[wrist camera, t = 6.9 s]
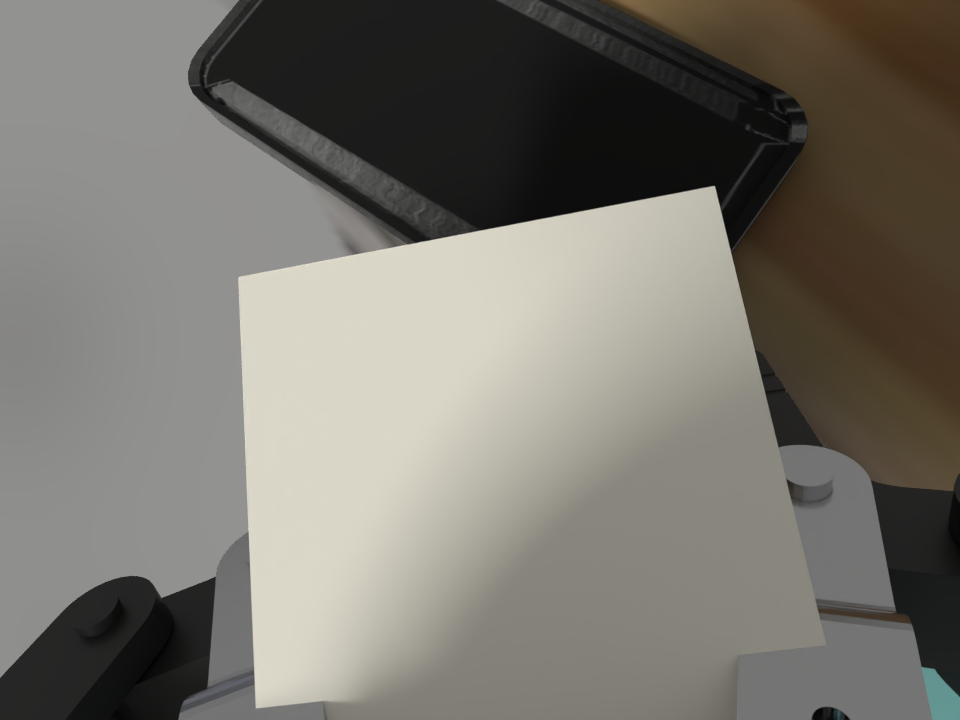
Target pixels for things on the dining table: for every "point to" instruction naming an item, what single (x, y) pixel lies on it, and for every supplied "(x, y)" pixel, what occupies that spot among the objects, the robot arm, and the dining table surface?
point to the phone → (493, 110)
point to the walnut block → (517, 475)
